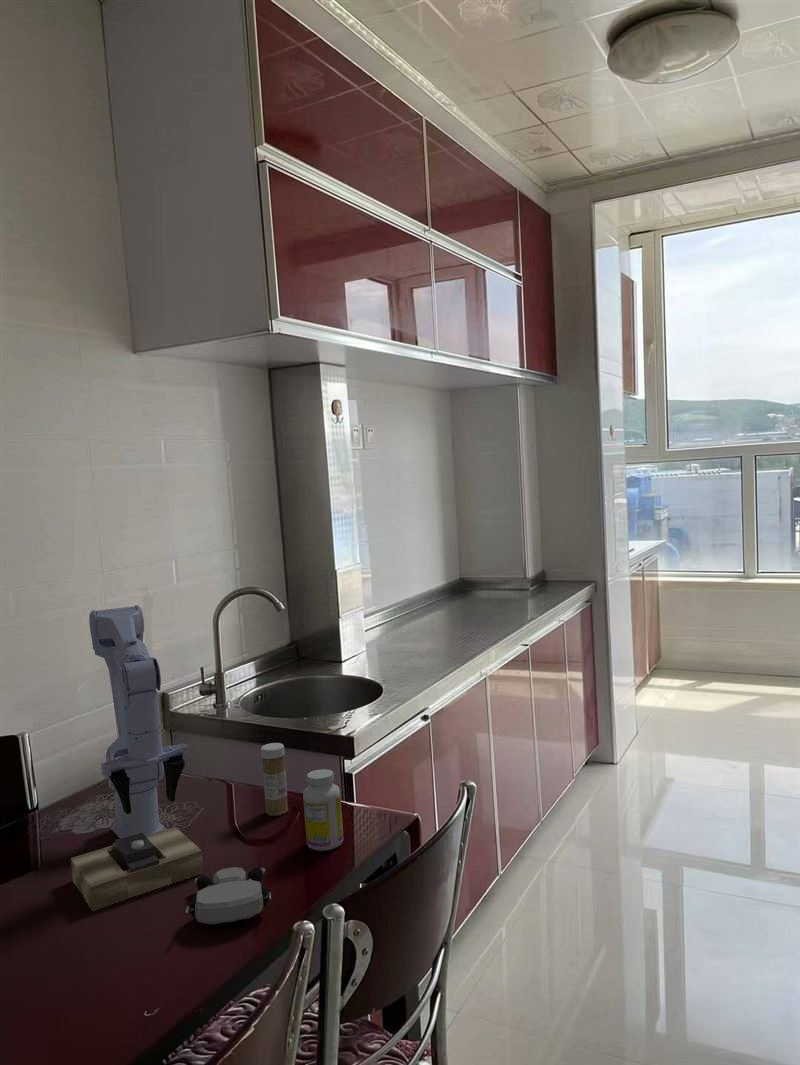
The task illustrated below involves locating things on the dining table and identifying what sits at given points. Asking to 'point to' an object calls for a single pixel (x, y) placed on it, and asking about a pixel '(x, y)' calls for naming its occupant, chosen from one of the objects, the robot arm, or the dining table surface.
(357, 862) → the dining table surface
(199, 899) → the robot toy
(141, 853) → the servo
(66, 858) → the dining table surface
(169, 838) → the tan slotted block
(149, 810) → the robot arm
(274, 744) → the sprinkles bottle
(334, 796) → the supplement bottle
